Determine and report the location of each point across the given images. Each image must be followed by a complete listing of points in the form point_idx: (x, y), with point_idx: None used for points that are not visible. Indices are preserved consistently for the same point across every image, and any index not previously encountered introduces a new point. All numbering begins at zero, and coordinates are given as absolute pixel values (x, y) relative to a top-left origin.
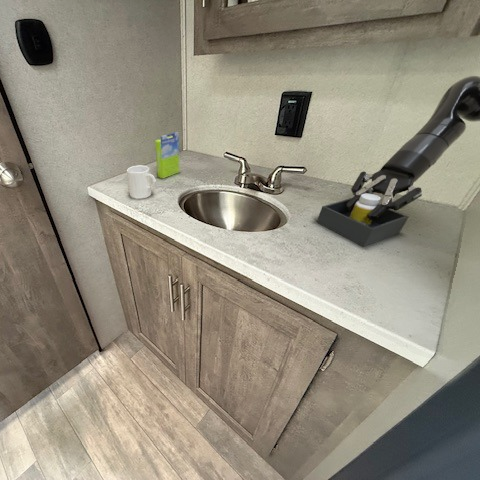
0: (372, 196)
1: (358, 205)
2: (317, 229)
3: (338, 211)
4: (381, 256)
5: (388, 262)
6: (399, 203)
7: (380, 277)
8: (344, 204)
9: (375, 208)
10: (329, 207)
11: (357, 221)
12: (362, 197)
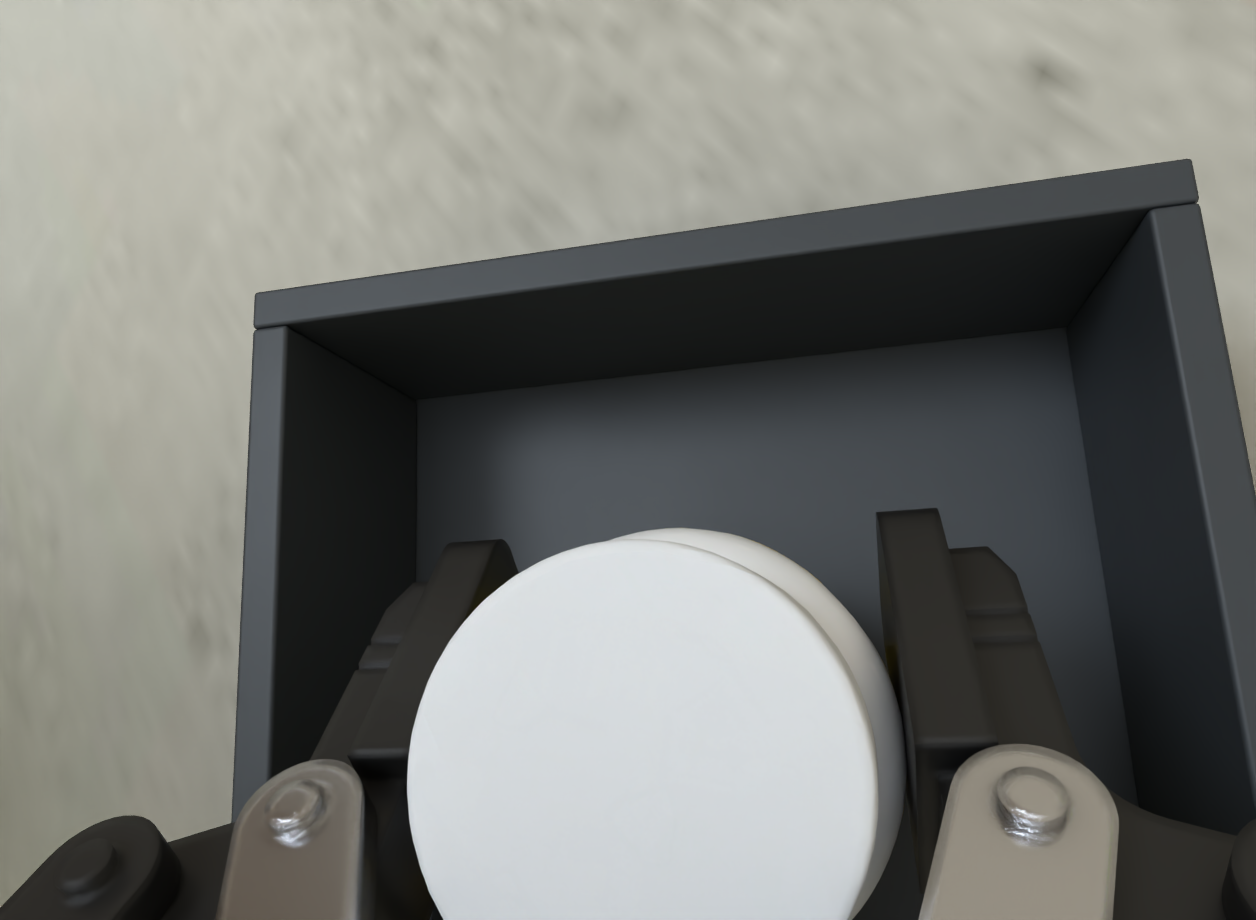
0: (614, 830)
1: (724, 539)
2: (907, 182)
3: (1153, 716)
4: (232, 408)
5: (156, 382)
6: (3, 908)
7: (91, 143)
8: None
9: (432, 659)
10: (1153, 347)
11: (487, 287)
12: (712, 555)
